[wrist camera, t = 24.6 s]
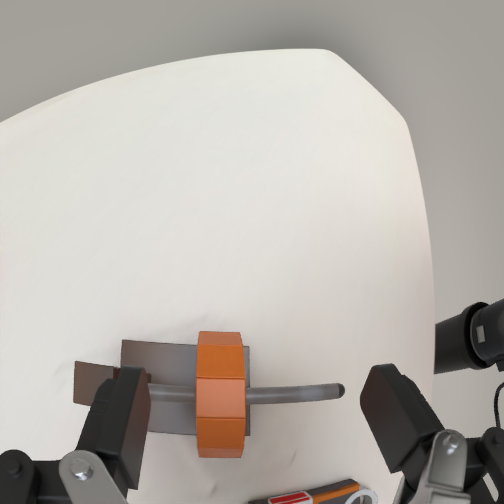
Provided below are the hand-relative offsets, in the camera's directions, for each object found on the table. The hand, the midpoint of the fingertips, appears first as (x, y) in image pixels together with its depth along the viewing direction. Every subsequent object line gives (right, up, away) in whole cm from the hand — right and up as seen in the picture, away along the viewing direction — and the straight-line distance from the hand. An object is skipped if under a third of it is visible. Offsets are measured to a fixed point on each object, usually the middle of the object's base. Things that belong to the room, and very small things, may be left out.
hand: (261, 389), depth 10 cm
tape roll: (-3, -8, +16) cm, 18 cm away
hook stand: (-5, -10, +21) cm, 24 cm away
